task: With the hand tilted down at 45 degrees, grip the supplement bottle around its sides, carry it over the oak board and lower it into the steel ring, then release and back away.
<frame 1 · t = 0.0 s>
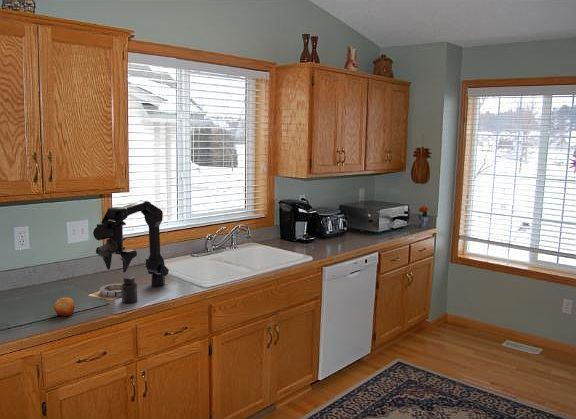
hand: (116, 270, 225), 15 cm above the worktop, tool pointing down, fingers open, 9 cm apart
steel ring: (115, 292, 239), resting on oak board
oak board: (113, 294, 239), on the worktop
supplement bottle: (129, 303, 228), on the worktop
fruit: (64, 315, 211), on the worktop
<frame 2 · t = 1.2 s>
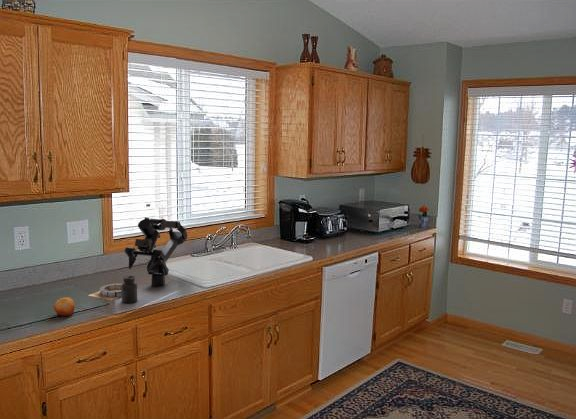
hand: (138, 269, 233), 13 cm above the worktop, tool tilted 45°, fingers open, 9 cm apart
nothing on the worktop moved.
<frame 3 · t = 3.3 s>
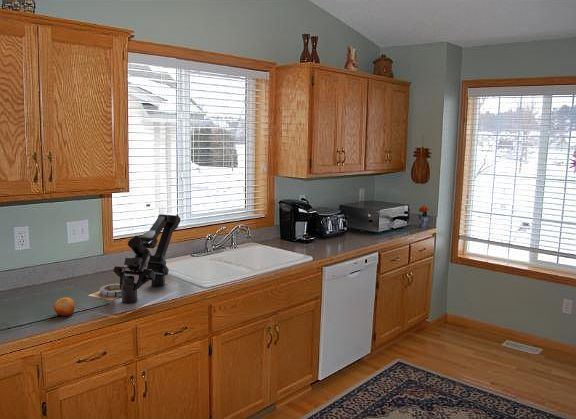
hand: (127, 289, 225), 7 cm above the worktop, tool tilted 45°, fingers closed on supplement bottle, 7 cm apart
supplement bottle: (129, 303, 228), on the worktop, touching gripper
everything else where it was.
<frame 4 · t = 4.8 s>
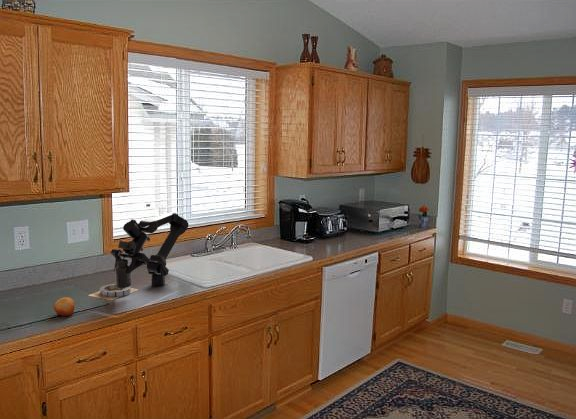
hand: (120, 272, 228), 13 cm above the worktop, tool tilted 45°, fingers closed on supplement bottle, 7 cm apart
supplement bottle: (123, 286, 230), point 6 cm above the worktop, touching gripper
everything else where it was.
when the fingers open (9 cm above the worktop, at t = 6.7 s): supplement bottle drops 1 cm, resting on oak board.
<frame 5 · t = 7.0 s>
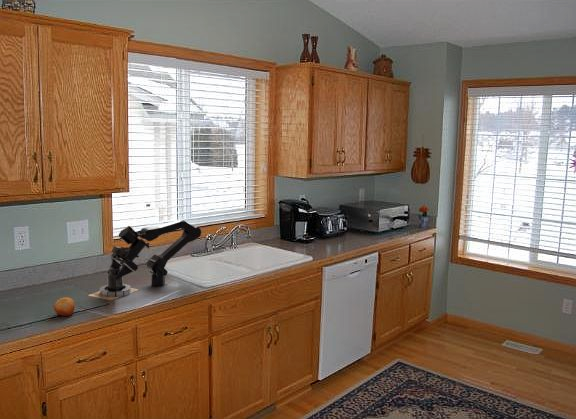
hand: (112, 276, 236), 9 cm above the worktop, tool tilted 45°, fingers open, 9 cm apart
supplement bottle: (115, 293, 239), point 1 cm above the worktop, touching oak board
everything else where it was.
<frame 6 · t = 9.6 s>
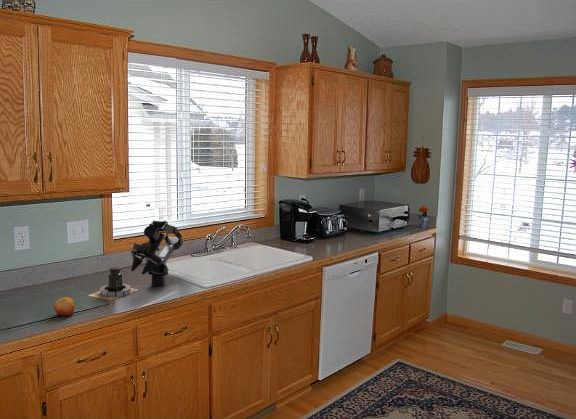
hand: (137, 272, 241), 10 cm above the worktop, tool tilted 35°, fingers open, 9 cm apart
nothing on the worktop moved.
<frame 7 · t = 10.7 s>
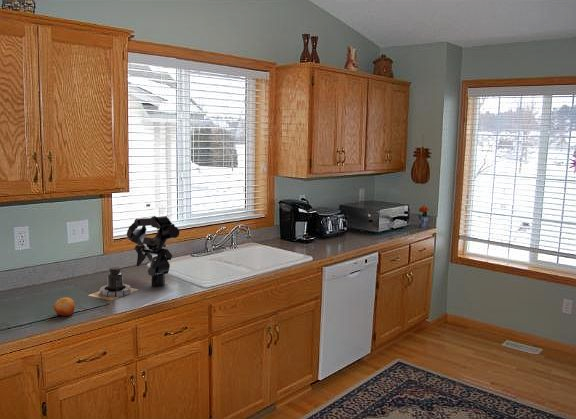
hand: (144, 267, 236), 14 cm above the worktop, tool tilted 45°, fingers open, 9 cm apart
nothing on the worktop moved.
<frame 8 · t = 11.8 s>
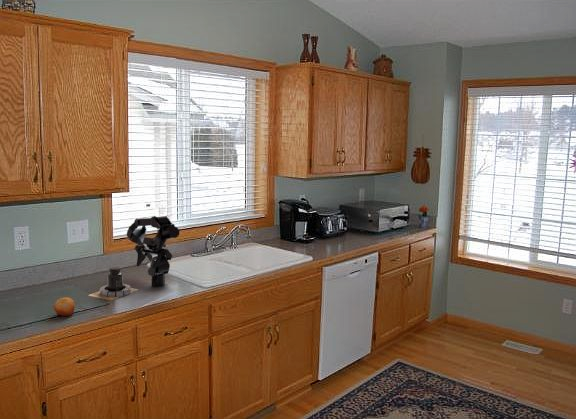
hand: (145, 267, 236), 14 cm above the worktop, tool tilted 45°, fingers open, 9 cm apart
nothing on the worktop moved.
at the end: supplement bottle 0.1 cm from the steel ring (horizontally); supplement bottle tilted 0°; the gripper is holding nothing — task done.
